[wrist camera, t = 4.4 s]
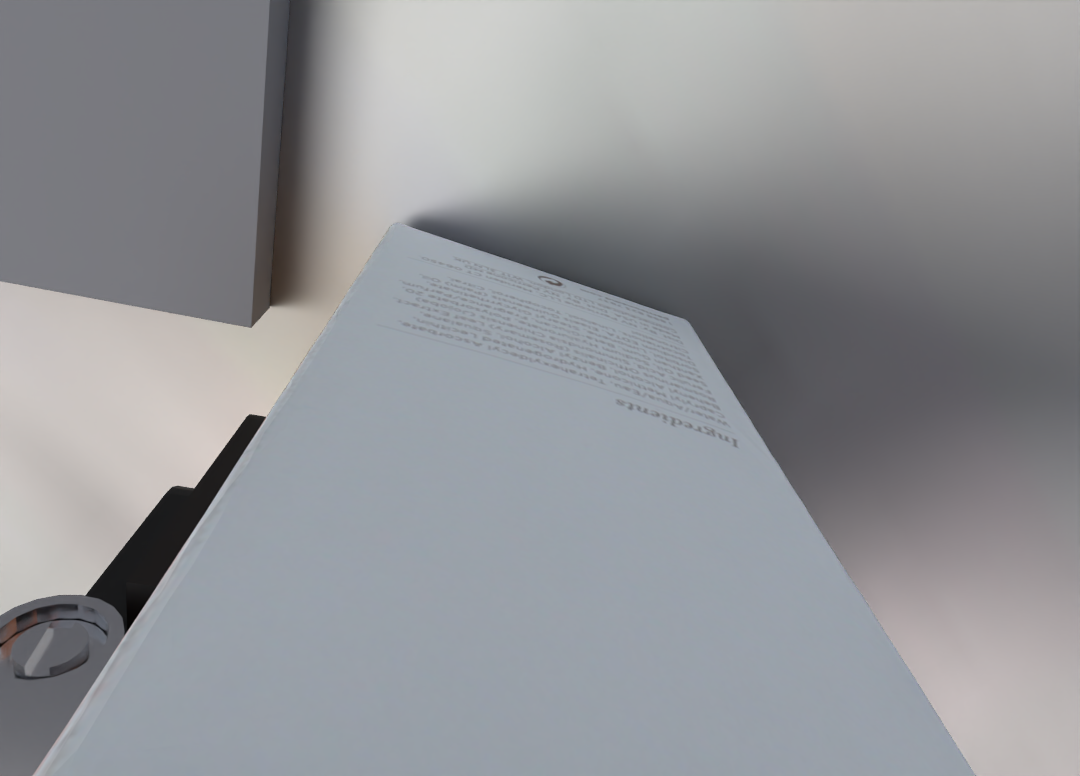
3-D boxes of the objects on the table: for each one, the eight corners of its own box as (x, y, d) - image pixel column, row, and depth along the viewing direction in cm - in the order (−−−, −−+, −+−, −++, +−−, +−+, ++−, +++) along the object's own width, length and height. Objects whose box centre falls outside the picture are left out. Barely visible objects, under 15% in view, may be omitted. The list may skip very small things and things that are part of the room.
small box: (393, 212, 12) (-49, 805, 3) (694, 315, 13) (1184, 1022, 4) (296, 573, 15) (-68, 1446, 6) (544, 634, 16) (590, 1470, 7)
